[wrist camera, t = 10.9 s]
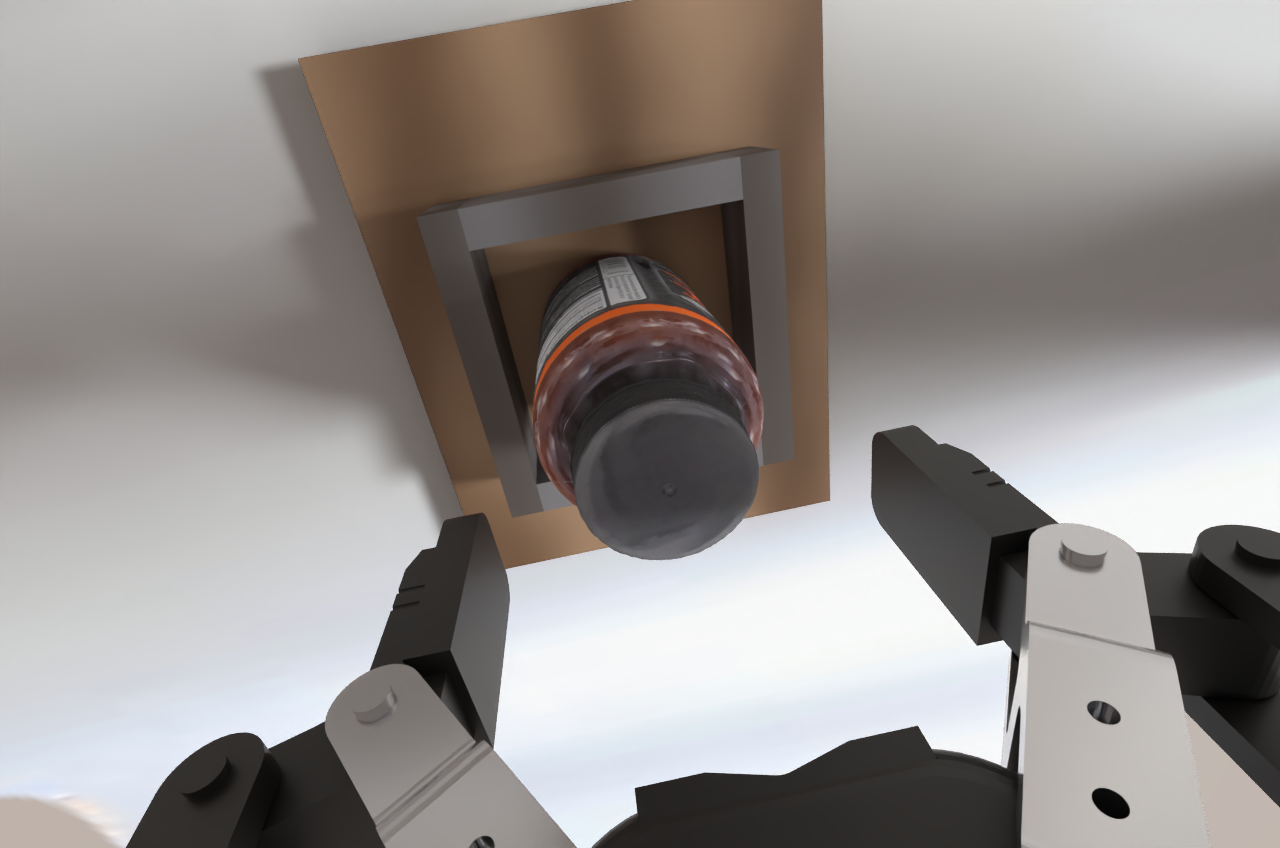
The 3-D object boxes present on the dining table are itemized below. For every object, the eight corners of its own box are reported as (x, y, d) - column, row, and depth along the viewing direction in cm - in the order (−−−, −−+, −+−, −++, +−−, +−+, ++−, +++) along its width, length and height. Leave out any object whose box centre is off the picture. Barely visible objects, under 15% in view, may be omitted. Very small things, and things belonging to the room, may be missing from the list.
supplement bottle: (725, 344, 23) (852, 510, 13) (602, 427, 24) (634, 640, 14) (641, 212, 21) (720, 296, 11) (506, 311, 22) (464, 471, 12)
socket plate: (803, -22, 20) (866, -60, 16) (817, 483, 29) (859, 540, 25) (316, 63, 19) (252, 46, 15) (488, 552, 28) (477, 622, 24)
